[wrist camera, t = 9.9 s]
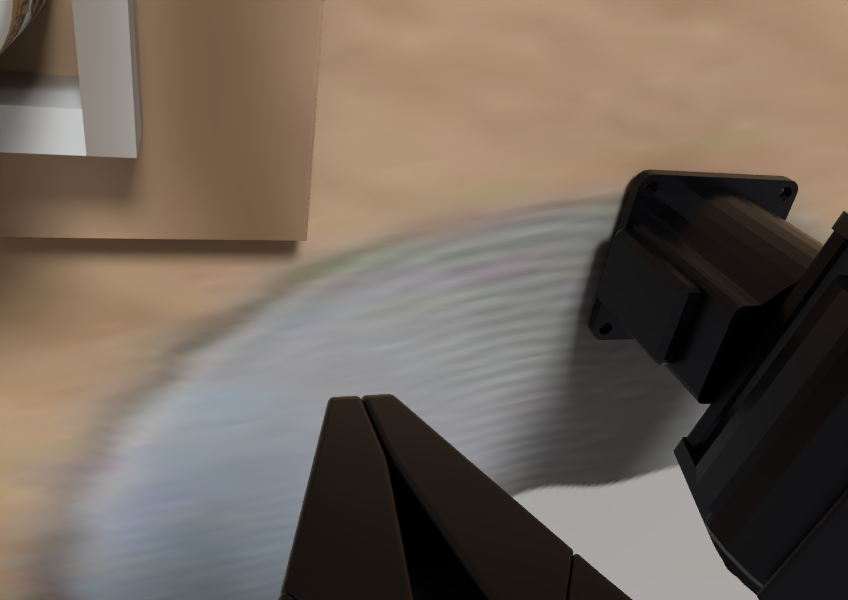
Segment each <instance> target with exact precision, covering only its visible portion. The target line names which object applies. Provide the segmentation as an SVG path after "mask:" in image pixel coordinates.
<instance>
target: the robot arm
mask: <svg viewBox="0 0 848 600" xmlns="http://www.w3.org/2000/svg"><path fill="white" fill-rule="evenodd" d="M650 182H652V185H651V186H650V188H649V189H648V190H646V191H644V189H645V187H646V185H647V184H648V183H650ZM783 189H784V190H783ZM782 190H783V191H782ZM781 191H782V193H781V194H780V192H781ZM797 191H798V185H797V184H796V182H794V181H793V180H791V179H789V178H787V177H784V176H767V175H747V174H726V173H706V172H685V171H665V170H645V171H643V172H641V173H639V174H638V175H637V176H636V177H635V179H634V181H633V183H632V185H631V188H630V192H629V195H628V198H627V201H626V205H625V208H624V211H623V214H622V217H621V221H620V224H619V227H618V230H617V233H616V234H615V236H614V239H613V243H612V246H611V249H610V252H609V255H608V259H607V262H606V265H605V268H604V272H603V275H602V278H601V281H600V285H599V288H598V291H597V298H596V301H595V304H594V308H593V311H592V314H591V317H590V321H589V325H588V328H589V330H590V332H591V333H592V334H593V335H594V337H596V338H597V339H600V340H612V339H635V340H636V341H637V342H638V344H639V345H640V346H641V347H642V348H643V349H644V350H645V351H646V352H647V354H648V355H649V356H650V357H651V358H652V359H653V360H654V361H655V362H656V363H657V364H664V365H665V366H666V367H667V368H668V369H669V370H670V371H671V372H672V373H673V375H674V376H675V377H676V378H677V379H678V380H679V381H680V382H681V383H682V384H683V386H684V387H685V388H686V389H687V390H688V391H689V392H690V393H691V394H692V395H693V397H694V398H695V399H696V400H697V401H698V402H699V403H701V404H710V406H709V407H708V409H707V410H706V411H705V413H704V414H703V416H702V417H701V418H700V420H699V421H698V423H697V424H696V425H695V427H694V428H693V430H692V431H691V432H690V434H689V435H688V437H683V438H682V440H681V441H680V442H679V444H678V445H677V447H676V448H675V450H674V454H675V456H676V458H677V461H678V463H679V465H680V467H681V470H682V472H683V474H684V477H685V479H686V481H687V484H688V486H689V489H690V491H691V493H692V495H693V498H694V500H695V503H696V505H697V507H698V509H699V512H700V514H701V516H702V519H703V521H704V523H705V526H706V528H707V530H708V533H709V535H710V537H711V540H712V542H713V544H714V546H715V548H716V550H717V551H718V553H719V555H720V557H721V558H722V559H723V562H724V564H725V566H726V567H727V569H728V570H729V571H730V572H731V573H732V574H734V575H735V576H737V577H738V578H739V579H740V580H741V582H742V583H743V584H744V585H746V586H747V587H748V588H749V589H750V590H751V591H753V592H754V593H755V594H756V595H757V597H758V599H759V600H848V212H845V211H843V213H842V214H841V215H840V217H839V218H838V220H837V221H836V222H835V224H834V225H833V227H832V229H833V230H834V232H833V233H832V234H831V236H830V237H829V239H828V240H827V241H826V243H825V244H824V245H823V244H821V243H820V242H818V241H817V240H815V239H814V238H812V237H810V236H809V235H807V234H806V233H804V232H802V231H801V230H799V229H798V228H796V227H795V226H793V225H791V224H790V223H788V222H787V221H785V220H786V218H787V215H788V213H789V211H790V209H791V206H792V204H793V202H794V199H795V197H796V195H797ZM779 194H780V195H779ZM604 323H606V325H605V326H604V327H602V328H600V327H601V326H602V325H603V324H604ZM279 600H632V599H631V598H630V597H628V596H627V595H626V594H625V593H624V592H622V591H621V590H620V589H619V588H617V587H616V586H615V585H614V584H613V583H611V582H610V581H609V580H608V579H607V578H605V577H604V576H603V575H602V574H600V573H599V572H598V571H597V570H596V569H594V568H593V567H592V566H591V565H590V564H589V563H588V562H587V561H585V560H584V559H583V558H582V557H581V556H580V555H578V554H575V555H574V556H573V550H572V549H571V548H570V547H569V546H567V544H565V543H564V542H563V541H562V540H561V539H560V538H558V537H557V536H556V535H555V534H554V533H553V532H551V531H550V530H549V529H548V528H546V526H544V525H543V524H542V523H541V522H540V521H538V519H536V518H535V517H534V516H533V515H532V514H531V513H529V512H528V511H527V510H526V509H525V508H524V507H522V506H521V505H520V504H519V503H518V502H517V501H516V500H514V499H513V498H512V497H511V496H510V495H509V494H507V493H506V492H505V491H504V490H503V489H502V488H501V487H499V486H498V485H497V484H496V483H495V482H494V481H492V480H491V479H490V478H489V477H488V476H487V475H485V474H484V473H483V472H482V471H481V470H480V469H479V468H477V467H476V466H475V465H474V464H473V463H472V462H470V461H469V460H468V459H467V458H466V457H465V456H463V455H462V454H461V453H460V452H459V451H458V450H456V449H455V448H454V447H453V446H452V445H451V444H450V443H448V442H447V441H446V440H445V439H444V438H443V437H441V436H440V435H439V434H438V433H437V432H436V431H434V430H433V429H432V428H431V427H430V426H429V425H428V424H426V423H425V422H424V421H423V420H422V419H421V418H419V417H418V416H417V415H416V414H415V413H414V412H412V411H411V410H410V409H409V408H408V407H407V406H406V405H404V404H403V403H402V402H401V401H400V400H399V399H397V398H396V397H395V396H393V395H391V394H379V395H366V396H364V397H362V398H359V397H358V396H343V397H332V398H330V399H329V401H328V404H327V408H326V412H325V416H324V420H323V424H322V428H321V432H320V436H319V440H318V444H317V448H316V452H315V456H314V460H313V464H312V468H311V472H310V476H309V480H308V484H307V488H306V492H305V497H304V501H303V505H302V509H301V513H300V517H299V521H298V525H297V529H296V533H295V537H294V541H293V545H292V549H291V553H290V557H289V561H288V565H287V569H286V573H285V577H284V581H283V585H282V589H281V596H280V597H279Z"/></svg>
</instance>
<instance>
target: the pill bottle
mask: <svg viewBox="0 0 848 600" xmlns="http://www.w3.org/2000/svg"><path fill="white" fill-rule="evenodd" d="M45 1H46V0H0V55H1V54H2V53H3V52H4V50H5V49H6V48H7V47H8V46H9V45H10V44H11V43H12V42H13V41H14V39H15V38H16V37H17V36H18V35H19V34H20V33H21V32H22V31H23V30H24V29H25V28H26V27H27V25H28V24H29V23H30V22H31V21H32V20H33V19H34V18H35V17H36V16H37V14H38V13H39V11H40V10H41V8H42V6H43V5H44V3H45Z"/></svg>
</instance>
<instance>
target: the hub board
mask: <svg viewBox="0 0 848 600" xmlns="http://www.w3.org/2000/svg"><path fill="white" fill-rule="evenodd" d="M322 15H323V0H46V1H45V3H44V5H43V6H42V8H41V10H40V11H39V13H38V14H37V16H36V17H35V18H34V19H33V20H32V21H31V22H30V23H29V24H28V25H27V27H26V28H25V29H24V30H23V31H22V32H21V33H20V34H19V35H18V36H17V37H16V38H15V39H14V41H13V42H12V43H11V44H10V45H9V46H8V47H7V48H6V49H5V50H4V52H3V53H2V54H1V55H0V237H34V238H120V239H205V240H291V241H307V228H308V214H309V200H310V185H311V171H312V157H313V143H314V128H315V114H316V100H317V86H318V72H319V57H320V43H321V29H322Z"/></svg>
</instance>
